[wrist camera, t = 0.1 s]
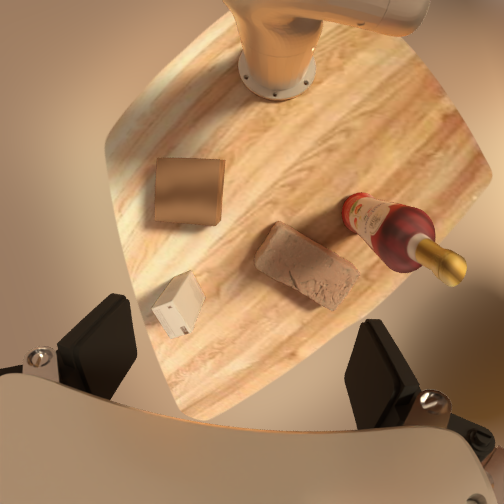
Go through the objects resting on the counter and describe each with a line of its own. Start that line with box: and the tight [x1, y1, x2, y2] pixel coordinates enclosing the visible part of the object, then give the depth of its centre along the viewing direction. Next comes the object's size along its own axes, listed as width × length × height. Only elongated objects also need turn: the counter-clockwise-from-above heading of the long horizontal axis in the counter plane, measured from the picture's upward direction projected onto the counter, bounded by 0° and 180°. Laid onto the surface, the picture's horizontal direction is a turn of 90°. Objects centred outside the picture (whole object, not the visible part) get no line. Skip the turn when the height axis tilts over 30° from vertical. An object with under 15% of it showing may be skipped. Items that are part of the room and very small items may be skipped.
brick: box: [254, 221, 360, 311], centre depth 46 cm, size 16×8×5 cm, turn 61°
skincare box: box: [151, 271, 206, 339], centre depth 45 cm, size 6×4×12 cm
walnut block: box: [155, 158, 225, 226], centre depth 43 cm, size 10×10×5 cm
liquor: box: [342, 192, 467, 287], centre depth 31 cm, size 7×7×28 cm
